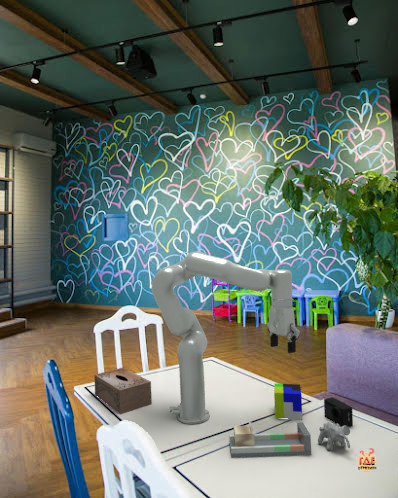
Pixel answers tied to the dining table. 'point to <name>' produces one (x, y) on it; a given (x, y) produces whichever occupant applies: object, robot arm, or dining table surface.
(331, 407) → the digital camera
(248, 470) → the dining table surface
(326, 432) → the elephant statuette
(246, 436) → the beige rectangular block
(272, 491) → the dining table surface
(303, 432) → the grey angled bar
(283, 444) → the grey metal rail
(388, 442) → the dining table surface
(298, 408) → the puzzle toy
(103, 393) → the tissue box cover
